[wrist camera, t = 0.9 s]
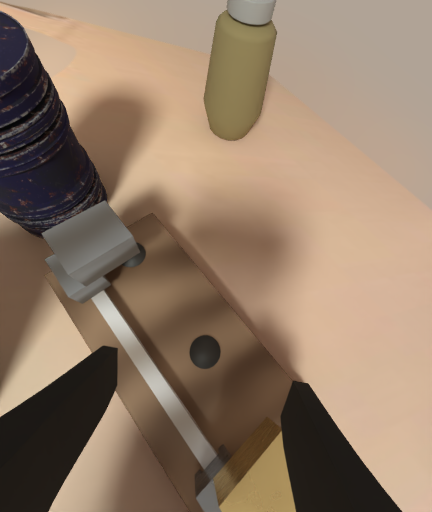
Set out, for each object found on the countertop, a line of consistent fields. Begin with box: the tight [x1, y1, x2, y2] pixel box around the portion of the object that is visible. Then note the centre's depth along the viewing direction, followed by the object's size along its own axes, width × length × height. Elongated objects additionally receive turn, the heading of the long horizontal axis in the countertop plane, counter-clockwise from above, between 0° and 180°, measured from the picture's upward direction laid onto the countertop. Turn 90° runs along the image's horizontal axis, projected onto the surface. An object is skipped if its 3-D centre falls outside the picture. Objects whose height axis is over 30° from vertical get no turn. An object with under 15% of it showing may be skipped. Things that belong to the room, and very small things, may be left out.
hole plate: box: [41, 201, 293, 512], centre depth 19 cm, size 24×12×8 cm, turn 40°
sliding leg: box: [194, 417, 296, 512], centre depth 15 cm, size 4×6×6 cm, turn 130°
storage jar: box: [0, 11, 107, 238], centre depth 20 cm, size 10×10×15 cm
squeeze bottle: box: [204, 0, 277, 140], centre depth 26 cm, size 8×8×18 cm
